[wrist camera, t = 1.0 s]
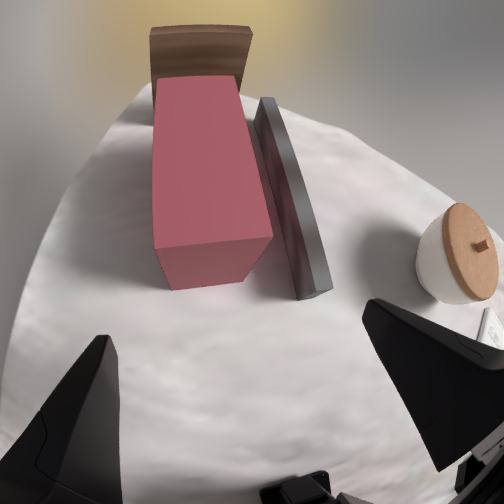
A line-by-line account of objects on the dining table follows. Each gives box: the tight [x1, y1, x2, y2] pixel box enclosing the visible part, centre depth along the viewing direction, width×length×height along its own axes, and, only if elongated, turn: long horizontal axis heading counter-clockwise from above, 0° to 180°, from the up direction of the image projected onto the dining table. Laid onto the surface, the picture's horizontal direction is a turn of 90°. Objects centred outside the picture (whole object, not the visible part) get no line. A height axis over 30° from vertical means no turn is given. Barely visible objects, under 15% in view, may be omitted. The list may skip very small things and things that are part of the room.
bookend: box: [150, 25, 333, 301], centre depth 20 cm, size 23×13×12 cm, turn 11°
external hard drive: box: [477, 307, 504, 350], centre depth 26 cm, size 2×8×12 cm
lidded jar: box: [415, 203, 499, 305], centre depth 24 cm, size 11×11×9 cm
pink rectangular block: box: [152, 76, 273, 290], centre depth 20 cm, size 14×6×10 cm, turn 11°
